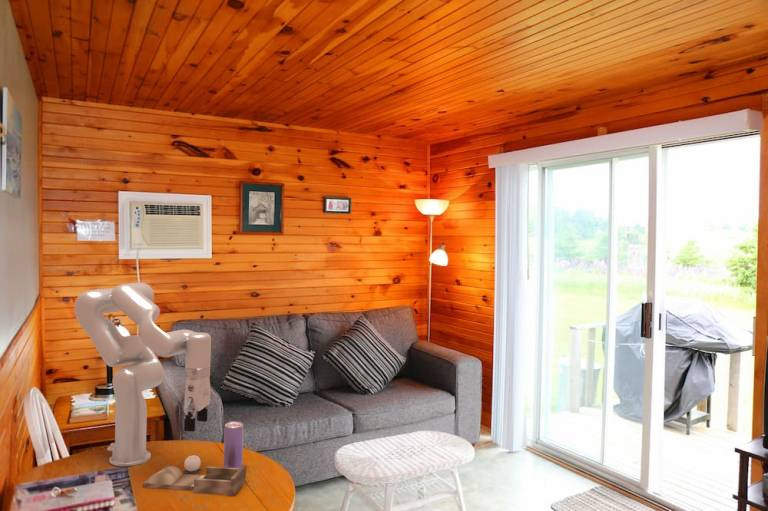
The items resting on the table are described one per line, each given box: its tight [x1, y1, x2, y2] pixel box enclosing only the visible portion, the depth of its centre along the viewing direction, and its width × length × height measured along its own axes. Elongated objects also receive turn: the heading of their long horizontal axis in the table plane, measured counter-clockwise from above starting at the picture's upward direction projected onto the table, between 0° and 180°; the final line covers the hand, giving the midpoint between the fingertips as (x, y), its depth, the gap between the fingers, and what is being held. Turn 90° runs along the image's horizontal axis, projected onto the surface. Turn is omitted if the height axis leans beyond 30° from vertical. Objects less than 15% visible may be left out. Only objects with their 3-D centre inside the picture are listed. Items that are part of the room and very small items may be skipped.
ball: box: [183, 454, 202, 472], centre depth 181 cm, size 5×5×5 cm
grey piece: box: [183, 467, 202, 475], centre depth 182 cm, size 5×5×1 cm
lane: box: [142, 465, 247, 497], centre depth 172 cm, size 28×10×9 cm, turn 85°
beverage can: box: [222, 421, 244, 468], centre depth 183 cm, size 6×6×15 cm
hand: (196, 425), depth 181 cm, fingers open, 9 cm apart
